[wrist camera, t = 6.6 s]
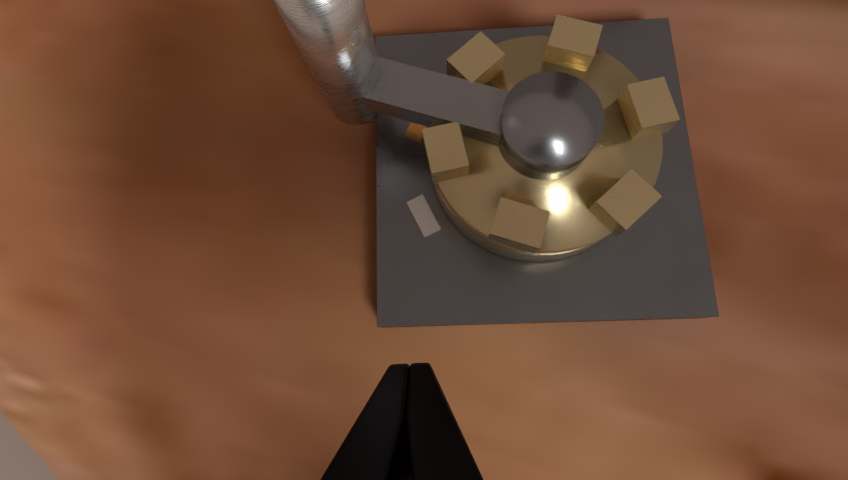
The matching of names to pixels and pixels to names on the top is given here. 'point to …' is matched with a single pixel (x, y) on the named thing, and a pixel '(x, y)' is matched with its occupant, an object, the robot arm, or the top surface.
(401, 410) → the robot arm
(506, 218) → the crank mechanism
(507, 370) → the top surface
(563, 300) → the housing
